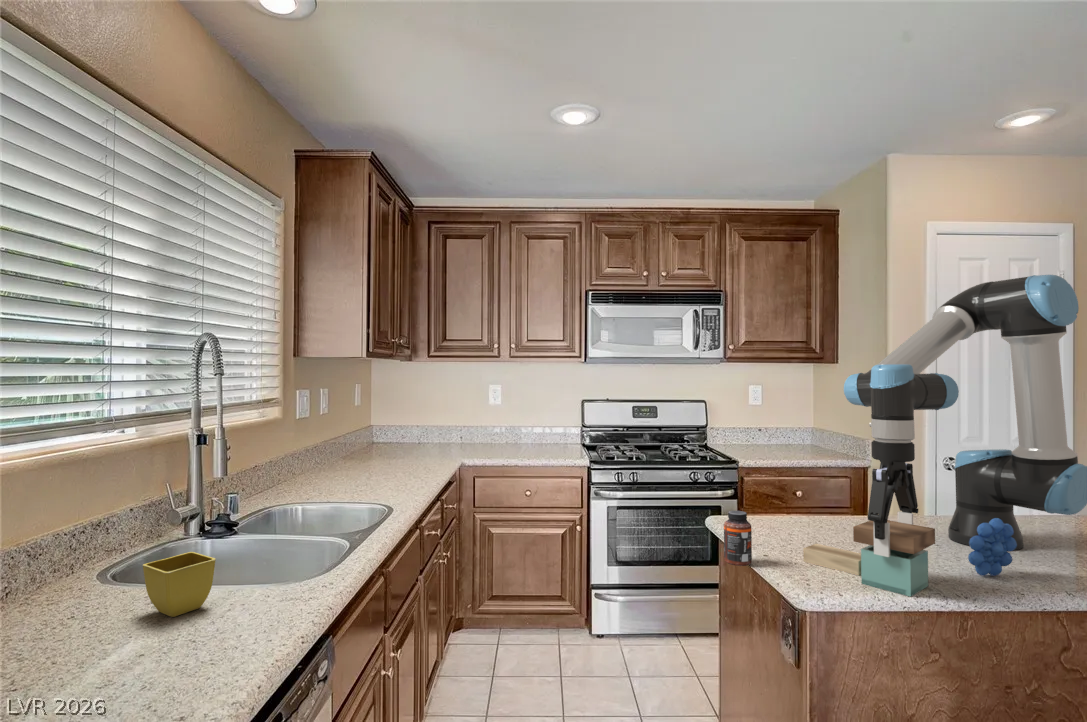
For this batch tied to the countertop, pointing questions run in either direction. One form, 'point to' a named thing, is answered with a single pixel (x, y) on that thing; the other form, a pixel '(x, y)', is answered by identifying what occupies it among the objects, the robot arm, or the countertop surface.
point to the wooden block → (833, 558)
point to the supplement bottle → (737, 539)
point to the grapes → (992, 547)
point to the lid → (898, 536)
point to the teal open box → (895, 571)
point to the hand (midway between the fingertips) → (894, 549)
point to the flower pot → (179, 582)
